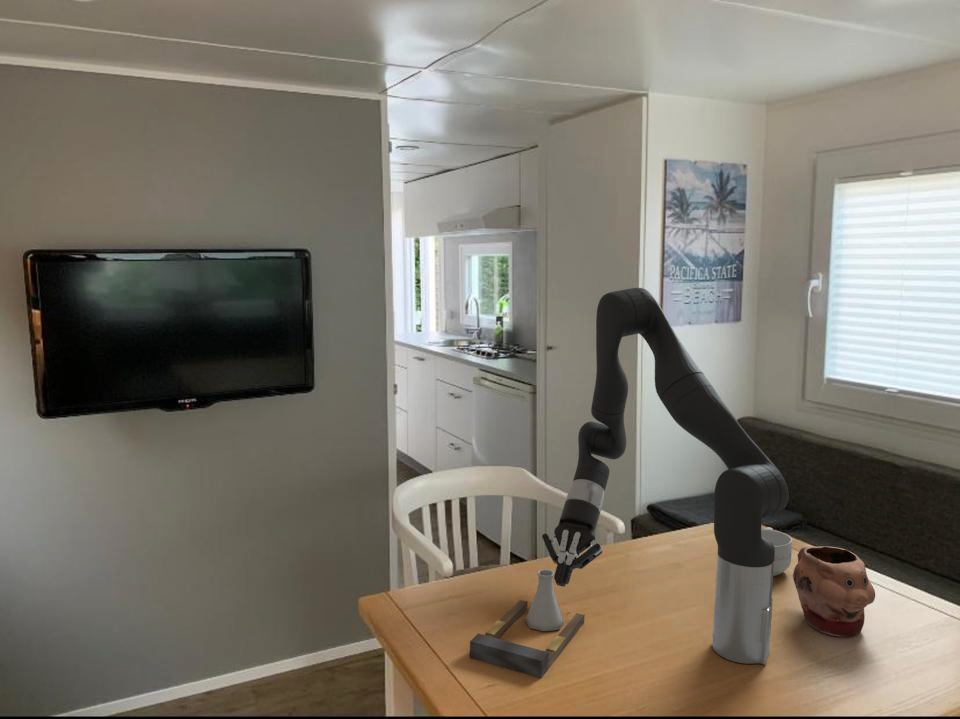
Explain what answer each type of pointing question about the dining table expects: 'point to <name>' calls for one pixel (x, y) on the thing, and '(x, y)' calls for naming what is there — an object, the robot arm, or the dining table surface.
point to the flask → (545, 605)
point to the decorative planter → (833, 589)
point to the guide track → (516, 654)
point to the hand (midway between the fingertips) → (560, 584)
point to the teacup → (779, 549)
